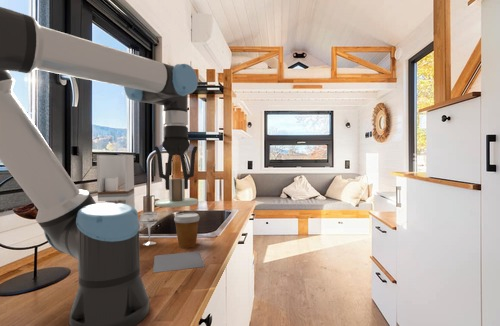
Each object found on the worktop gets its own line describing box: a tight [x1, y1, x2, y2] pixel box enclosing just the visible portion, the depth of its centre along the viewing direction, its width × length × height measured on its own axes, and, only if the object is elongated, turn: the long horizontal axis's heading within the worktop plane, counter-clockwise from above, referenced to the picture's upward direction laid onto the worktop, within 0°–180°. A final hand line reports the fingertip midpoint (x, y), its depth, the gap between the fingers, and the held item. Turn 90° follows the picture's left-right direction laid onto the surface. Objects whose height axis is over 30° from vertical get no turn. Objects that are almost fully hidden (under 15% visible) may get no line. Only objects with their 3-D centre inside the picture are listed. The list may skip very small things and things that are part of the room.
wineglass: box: [139, 211, 159, 246], centre depth 112 cm, size 7×7×12 cm
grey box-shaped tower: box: [96, 154, 136, 209], centre depth 113 cm, size 11×11×35 cm
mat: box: [152, 250, 206, 274], centre depth 91 cm, size 15×15×1 cm
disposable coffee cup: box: [173, 212, 201, 249], centre depth 108 cm, size 10×10×12 cm
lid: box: [155, 177, 199, 208], centre depth 91 cm, size 13×13×8 cm
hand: (177, 199), depth 91 cm, fingers closed on lid, 3 cm apart
